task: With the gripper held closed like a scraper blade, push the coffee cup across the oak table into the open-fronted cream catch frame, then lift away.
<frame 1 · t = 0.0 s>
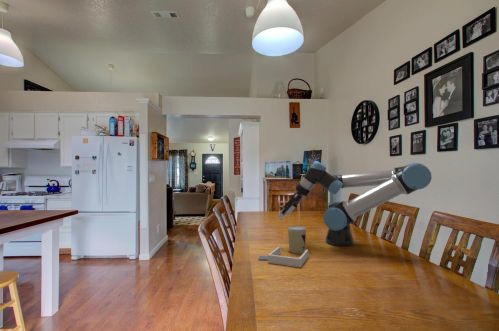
hand: (283, 216, 156), 15 cm above the table, tool tilted 35°, fingers open, 13 cm apart
coffee cup: (297, 251, 141), on the table
slate tile: (264, 260, 129), on the table
catch frame: (288, 259, 127), on the table
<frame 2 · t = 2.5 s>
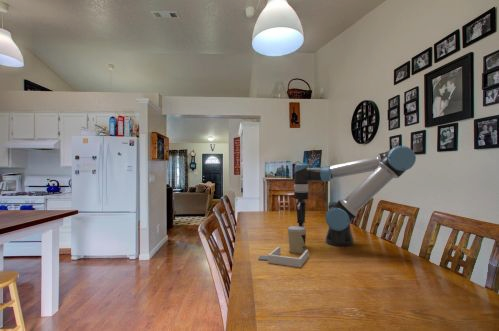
hand: (301, 234, 150), 6 cm above the table, tool pointing down, fingers closed
nothing on the table moved.
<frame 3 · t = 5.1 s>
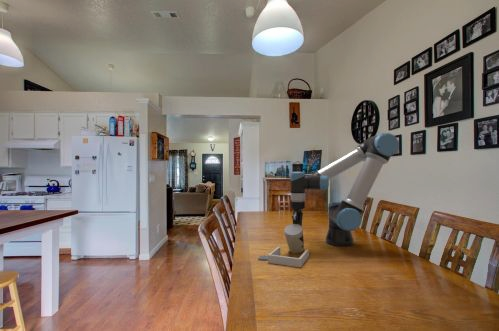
hand: (297, 245, 144), 2 cm above the table, tool pointing down, fingers closed
coffee cup: (296, 248, 140), point 2 cm above the table, touching gripper, hand
everything else where it was.
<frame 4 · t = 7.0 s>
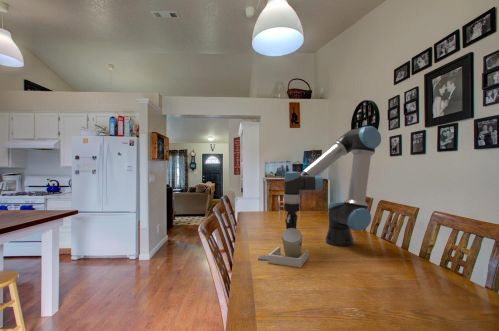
hand: (291, 250, 135), 2 cm above the table, tool pointing down, fingers closed
coffee cup: (292, 253, 131), point 2 cm above the table, touching gripper
everything else where it was.
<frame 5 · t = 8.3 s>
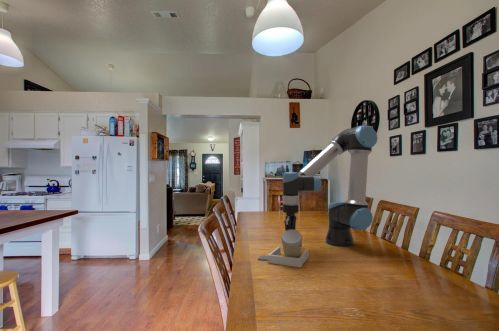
hand: (290, 252, 132), 2 cm above the table, tool pointing down, fingers closed
coffee cup: (292, 255, 128), point 2 cm above the table, touching gripper
everything else where it was.
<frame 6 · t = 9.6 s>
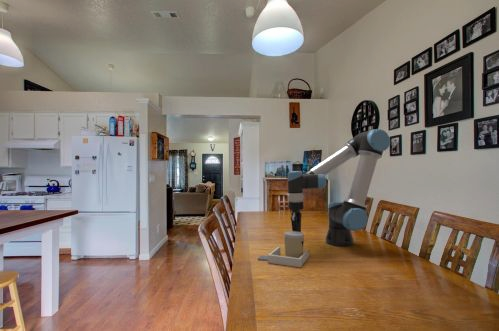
hand: (297, 247, 139), 2 cm above the table, tool pointing down, fingers closed
coffee cup: (293, 259, 128), on the table
everything else where it was.
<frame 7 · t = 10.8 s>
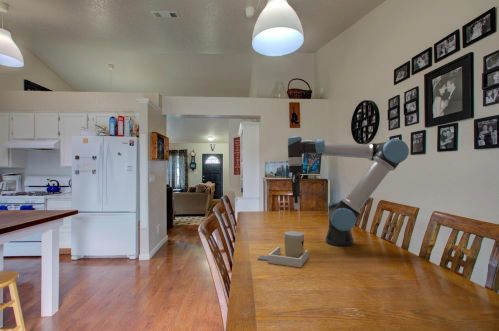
hand: (296, 208, 148), 21 cm above the table, tool pointing down, fingers closed
nothing on the table moved.
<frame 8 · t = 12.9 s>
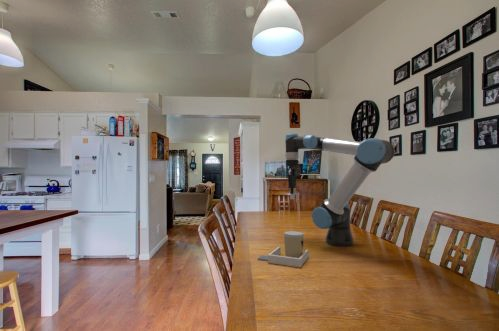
hand: (292, 198, 163), 24 cm above the table, tool pointing down, fingers closed
nothing on the table moved.
at the end: coffee cup inside the target area (2.7 cm from its centre), on the table; coffee cup tilted 2°; slate tile moved 0.6 cm from its start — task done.
